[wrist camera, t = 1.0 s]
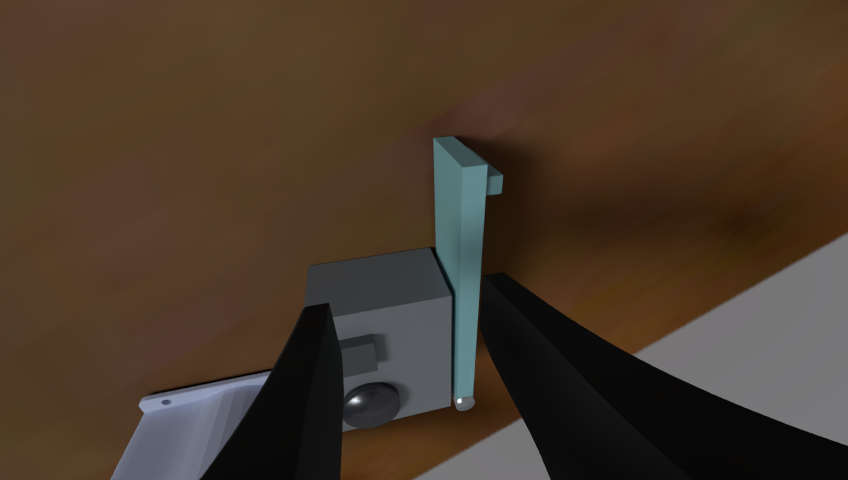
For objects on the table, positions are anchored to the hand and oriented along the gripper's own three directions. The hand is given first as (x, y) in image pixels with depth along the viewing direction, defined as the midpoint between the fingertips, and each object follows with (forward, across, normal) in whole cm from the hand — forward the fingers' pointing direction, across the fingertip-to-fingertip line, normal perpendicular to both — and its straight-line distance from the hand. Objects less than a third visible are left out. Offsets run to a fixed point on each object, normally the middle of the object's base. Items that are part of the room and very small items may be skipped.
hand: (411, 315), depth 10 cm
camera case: (+9, +1, +8) cm, 13 cm away
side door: (+9, -4, +5) cm, 11 cm away
